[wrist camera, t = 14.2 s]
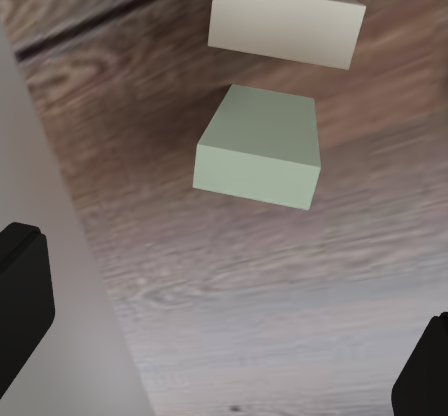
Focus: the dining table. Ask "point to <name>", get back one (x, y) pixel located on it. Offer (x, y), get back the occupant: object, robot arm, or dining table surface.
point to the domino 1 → (289, 29)
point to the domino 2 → (261, 148)
